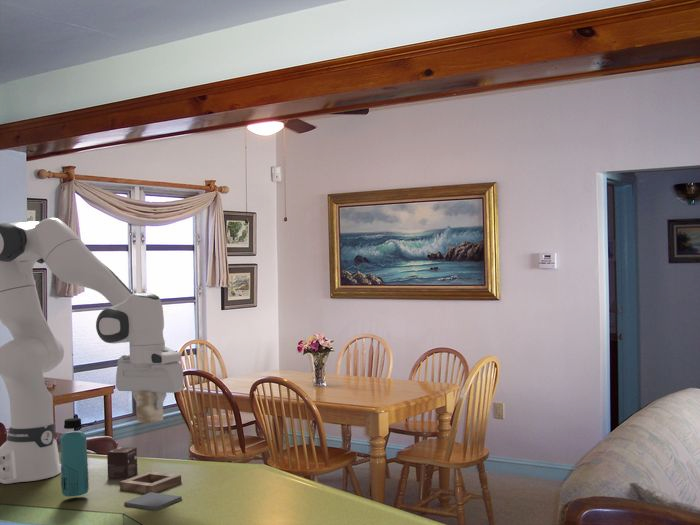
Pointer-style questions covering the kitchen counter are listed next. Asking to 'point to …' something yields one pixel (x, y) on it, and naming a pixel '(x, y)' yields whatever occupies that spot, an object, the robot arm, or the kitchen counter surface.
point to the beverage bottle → (74, 460)
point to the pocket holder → (142, 486)
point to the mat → (153, 501)
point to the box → (122, 463)
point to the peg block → (148, 407)
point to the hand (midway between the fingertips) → (150, 409)
